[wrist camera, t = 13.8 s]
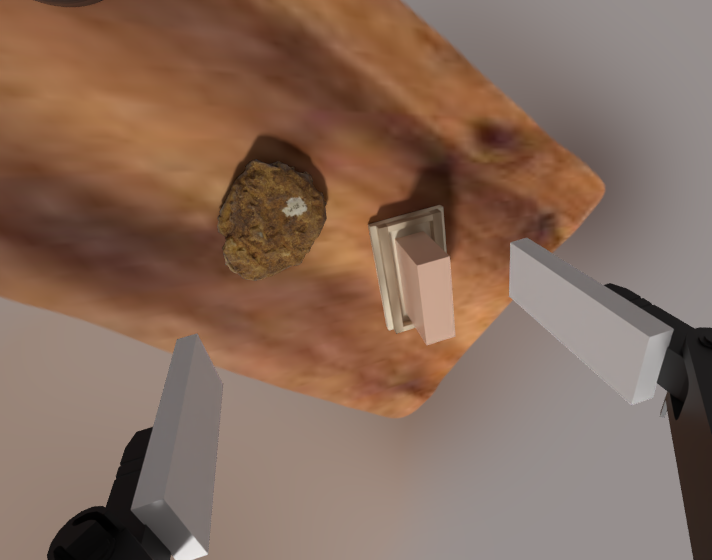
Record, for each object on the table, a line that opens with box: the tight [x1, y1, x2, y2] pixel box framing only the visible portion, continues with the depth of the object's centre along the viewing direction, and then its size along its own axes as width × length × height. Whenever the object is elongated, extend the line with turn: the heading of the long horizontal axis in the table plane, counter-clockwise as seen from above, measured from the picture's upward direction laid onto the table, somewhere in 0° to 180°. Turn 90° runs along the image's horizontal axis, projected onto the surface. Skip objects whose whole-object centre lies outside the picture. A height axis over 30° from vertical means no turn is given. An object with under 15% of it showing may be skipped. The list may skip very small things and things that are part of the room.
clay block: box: [395, 231, 455, 345], centre depth 51 cm, size 12×4×8 cm, turn 11°
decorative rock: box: [217, 159, 327, 281], centre depth 46 cm, size 11×4×15 cm
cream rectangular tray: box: [368, 205, 447, 334], centre depth 54 cm, size 10×17×2 cm, turn 11°
